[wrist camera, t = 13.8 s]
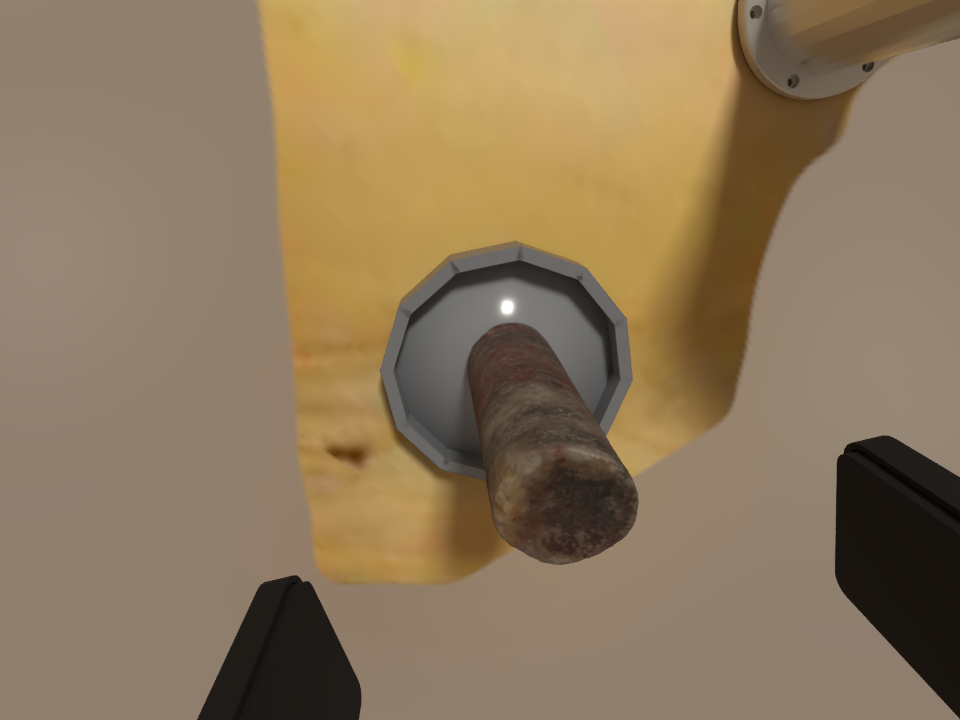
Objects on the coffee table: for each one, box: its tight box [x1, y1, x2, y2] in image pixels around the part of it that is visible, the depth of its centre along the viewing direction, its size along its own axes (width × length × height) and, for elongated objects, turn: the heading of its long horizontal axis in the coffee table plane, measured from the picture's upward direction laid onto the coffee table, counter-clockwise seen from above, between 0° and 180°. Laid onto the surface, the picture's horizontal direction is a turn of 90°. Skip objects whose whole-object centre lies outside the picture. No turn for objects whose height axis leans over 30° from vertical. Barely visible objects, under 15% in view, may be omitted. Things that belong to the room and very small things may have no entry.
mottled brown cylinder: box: [467, 323, 638, 565], centre depth 33 cm, size 8×7×20 cm
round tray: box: [380, 241, 633, 481], centre depth 42 cm, size 20×20×3 cm
